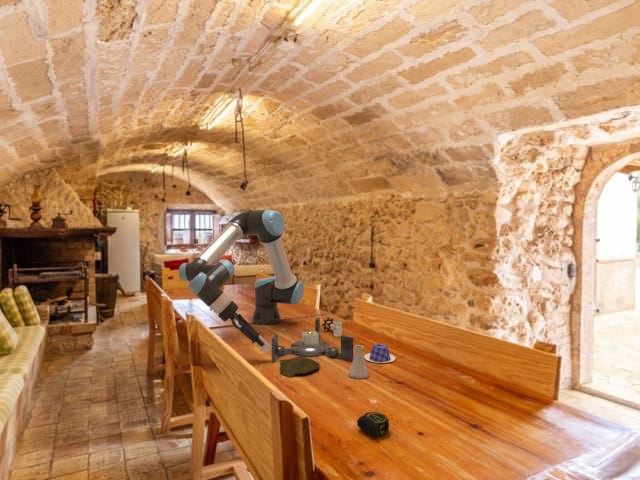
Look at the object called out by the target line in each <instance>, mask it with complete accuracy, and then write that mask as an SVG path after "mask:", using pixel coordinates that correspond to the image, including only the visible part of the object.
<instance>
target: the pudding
mask: <svg viewBox="0 0 640 480" xmlns="http://www.w3.org/2000/svg"><path fill="white" fill-rule="evenodd" d="M363 358H364V360H366V361H369V362H371V363H379V364H380V363H381V364H384V363H391V362H394V361H395V360H396V358H397V357H396V356H395V355H393V354H391V353H390V351H389V347H388V345H387V344H383V343H375V344H373V345H372V346H371V350H370V352H369V353H366V354H365V355H363Z"/></svg>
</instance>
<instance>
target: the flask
mask: <svg viewBox="0 0 640 480" xmlns="http://www.w3.org/2000/svg"><path fill="white" fill-rule="evenodd" d="M353 349H354V355H353V361H352V362H351V366H350V368H349V371H348V377H350V378H353V379H366V378H368V377H369V376H370V374H369V371H368V367H367V365H366V361H365V358H364V350H363V349H364V345H360V344H358V345H357V344H356V345H353Z"/></svg>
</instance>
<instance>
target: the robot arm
mask: <svg viewBox="0 0 640 480" xmlns="http://www.w3.org/2000/svg"><path fill="white" fill-rule="evenodd" d="M285 228H286V227H285V221H284V217H283V215H282V214H281V213H280V212H279V211H277V210H274V209H273V210H272V209H265V210H261V209H260V210H258V209H257V210H252V209H251V210H245V211H243V212H240V213H238V214H237V215H236V216H234V217H232V218H231V219H230V220H228V222H227V223H226V224H225V225H224V229H223V230H221V232H220V233H219V234H218V235H217V236H216V237H214V239H213V240H212V241H211V242H210V243H209V244H208V245H207V246H206V247H205V248H203V250H202V251H200V252H199V254H198V255H197V256H196V257H195V258H194V259H192V261H191V262H184V263H181V264H180V266H179V268H178V273H177V274H178V277H179V278H180V280H181V281H184V282H189V283H188V288H189V290H190V291H191V292H192V293H193V294H194V295H195V296H196V297H197V298H198V299H199V300H201V301H202V302H203V303H204V304H205V305H206V306H207V307H209V311H210V312H212V311H213V313H214V314H216V315H218V316H217V317H218V318H219V319H220V320H222V322H227V321H228V320H230V321H231V324H232V325H233V326H234V327H235V328H236V329H237V330H238V331H239V332H241V333H242V334H243V336H246V337H247V338H248V339H249V340H250V341H251V343H252V344H254V343H255V344H256V345H257V346H258V347H259V348H260V349H261V350H262V351H263V352H264V353H265V354H268V353H270V352H271V351H272V345H270V344H269V343H268V342H267V340H266V339H264V338H263V337H262V336H261V332H258V331H257V330H256V328H254V327H253V326H252V325H251V324H250V323H249V322H248V321H247V320H246V319H245V318H244V317H243V315H242V314H241V313H237V311H238V310H239V306H238V304H237V303H236V302H234V301H233V300H231V297H229V296H228V294H226V293H225V292H224V291H223V290H222V289H221V288H222V287H223V285H225V283H227V281H229V280H230V279H231V277H232V276H233V275H234V273H235V267H234V265H233V263H232V262H231V261H230V260H228V259H221V258H222V257H223V256H224V255H225V254H226V253H227V252H228V251H229V250H230V248H231V247H233V245H234V244H235V243H236V242H237V241H240V240H242V239H243V238H244V237H247V236H256V237H257V240H258V242H259V243H260V244H263V246H264V249H265V252H266V255H267V258H268V262H269V263H270V267H271V269H272V272H273V274H274V275H273V276H272V277H264V278H259V279H256V280H255V282H254V283H255V284H254V300H255V301H254V302H255V304H254V306H255V307H254V310H253V314H252V317H251V323H253V324H255V325H264V326H265V325H275V324H279V323H280V322H281V321H282V317H281V314H280V311H279V308H278V304H284V305H285V304H286V305H298V304H300V303H302V302H301V301H303V297H304V294H305V286H304V285H305V284H304V283H303V282H302V281H298V279H297V278H298V277H297V276H296V275H295V274H293V273H292V269H291V267H290V263H289V260H288V256H287V253H286V251H285V248H284V244H283V241H282V237H283V233H284V231H285Z"/></svg>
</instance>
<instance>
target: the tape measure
mask: <svg viewBox="0 0 640 480" xmlns="http://www.w3.org/2000/svg"><path fill="white" fill-rule="evenodd" d="M389 420H390V419H389V418H388V417H387V415H386V414H384V413H382V412H379V411H370V412H366V413H365V414H363V415H362V416H360V417H359V418H358V419H357V420H356V423H357V424H356V425H357V427H358V428H359V429H361V430H362V431H364V432H365V433H367V434H369V435H371V436H372V437H373V438H378V437H380V436H383V435H385V434H386V433H387V432H388V430H389V429H390V422H389Z"/></svg>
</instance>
